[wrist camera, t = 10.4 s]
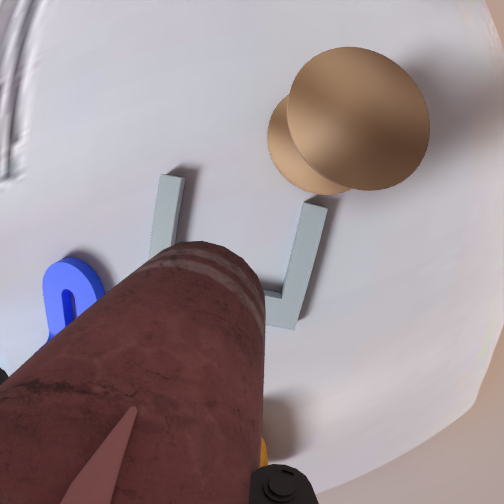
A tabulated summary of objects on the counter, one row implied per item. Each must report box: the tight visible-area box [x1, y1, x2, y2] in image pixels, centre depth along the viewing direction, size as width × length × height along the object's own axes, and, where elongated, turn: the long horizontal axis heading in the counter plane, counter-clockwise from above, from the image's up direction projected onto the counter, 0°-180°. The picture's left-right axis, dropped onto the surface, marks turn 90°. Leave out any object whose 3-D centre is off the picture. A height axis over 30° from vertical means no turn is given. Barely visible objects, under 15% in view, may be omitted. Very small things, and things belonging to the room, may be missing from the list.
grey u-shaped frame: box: [149, 174, 328, 330], centre depth 27 cm, size 12×15×2 cm
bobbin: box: [268, 47, 430, 195], centre depth 19 cm, size 10×10×12 cm
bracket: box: [34, 257, 105, 354], centre depth 27 cm, size 18×8×9 cm, turn 172°
